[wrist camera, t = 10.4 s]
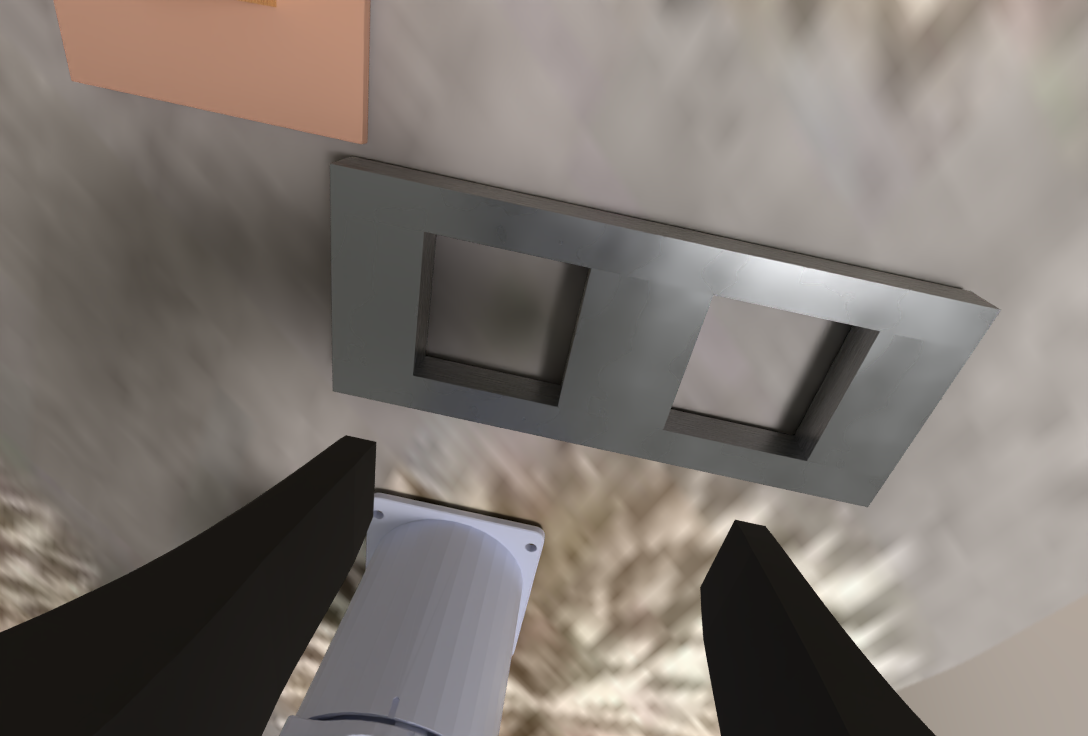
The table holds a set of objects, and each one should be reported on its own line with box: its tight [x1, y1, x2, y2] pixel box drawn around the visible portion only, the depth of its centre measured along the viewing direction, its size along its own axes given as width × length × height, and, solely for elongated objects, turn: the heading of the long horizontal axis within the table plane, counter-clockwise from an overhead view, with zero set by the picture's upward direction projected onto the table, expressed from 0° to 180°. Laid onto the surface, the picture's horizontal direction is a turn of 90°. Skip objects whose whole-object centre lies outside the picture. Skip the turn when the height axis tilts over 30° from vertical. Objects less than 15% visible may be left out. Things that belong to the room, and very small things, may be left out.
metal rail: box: [330, 156, 1001, 507], centre depth 18 cm, size 8×20×2 cm, turn 78°
